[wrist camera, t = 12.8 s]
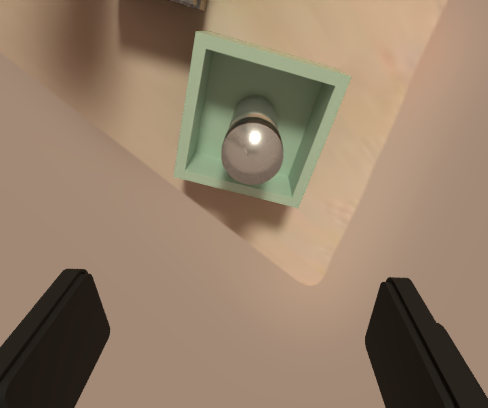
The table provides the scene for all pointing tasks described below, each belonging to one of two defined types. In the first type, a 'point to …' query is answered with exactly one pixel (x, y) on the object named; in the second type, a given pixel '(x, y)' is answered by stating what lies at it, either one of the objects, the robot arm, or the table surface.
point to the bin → (272, 88)
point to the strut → (252, 142)
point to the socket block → (193, 3)
